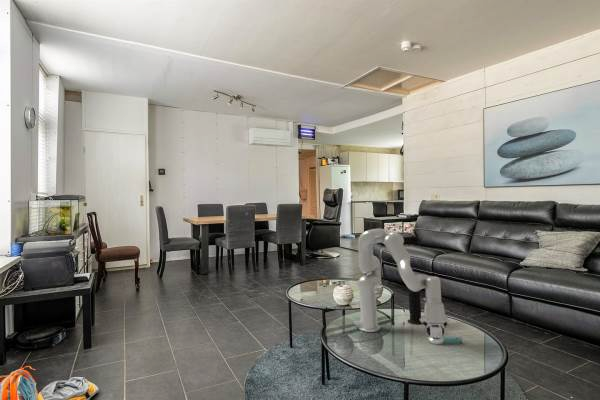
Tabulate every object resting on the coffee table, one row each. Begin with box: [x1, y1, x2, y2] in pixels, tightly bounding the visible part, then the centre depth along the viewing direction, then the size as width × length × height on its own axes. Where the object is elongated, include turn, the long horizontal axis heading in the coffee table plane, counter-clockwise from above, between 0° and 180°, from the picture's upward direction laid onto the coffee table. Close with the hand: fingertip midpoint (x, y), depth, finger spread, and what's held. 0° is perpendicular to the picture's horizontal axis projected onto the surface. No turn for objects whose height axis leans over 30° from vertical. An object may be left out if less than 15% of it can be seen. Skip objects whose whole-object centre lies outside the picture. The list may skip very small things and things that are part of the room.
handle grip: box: [407, 288, 424, 326], centre depth 204 cm, size 10×26×10 cm
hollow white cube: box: [429, 323, 443, 338], centre depth 173 cm, size 6×6×5 cm
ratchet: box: [427, 334, 463, 346], centre depth 172 cm, size 16×8×7 cm, turn 77°
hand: (435, 334), depth 173 cm, fingers closed on hollow white cube, 5 cm apart
